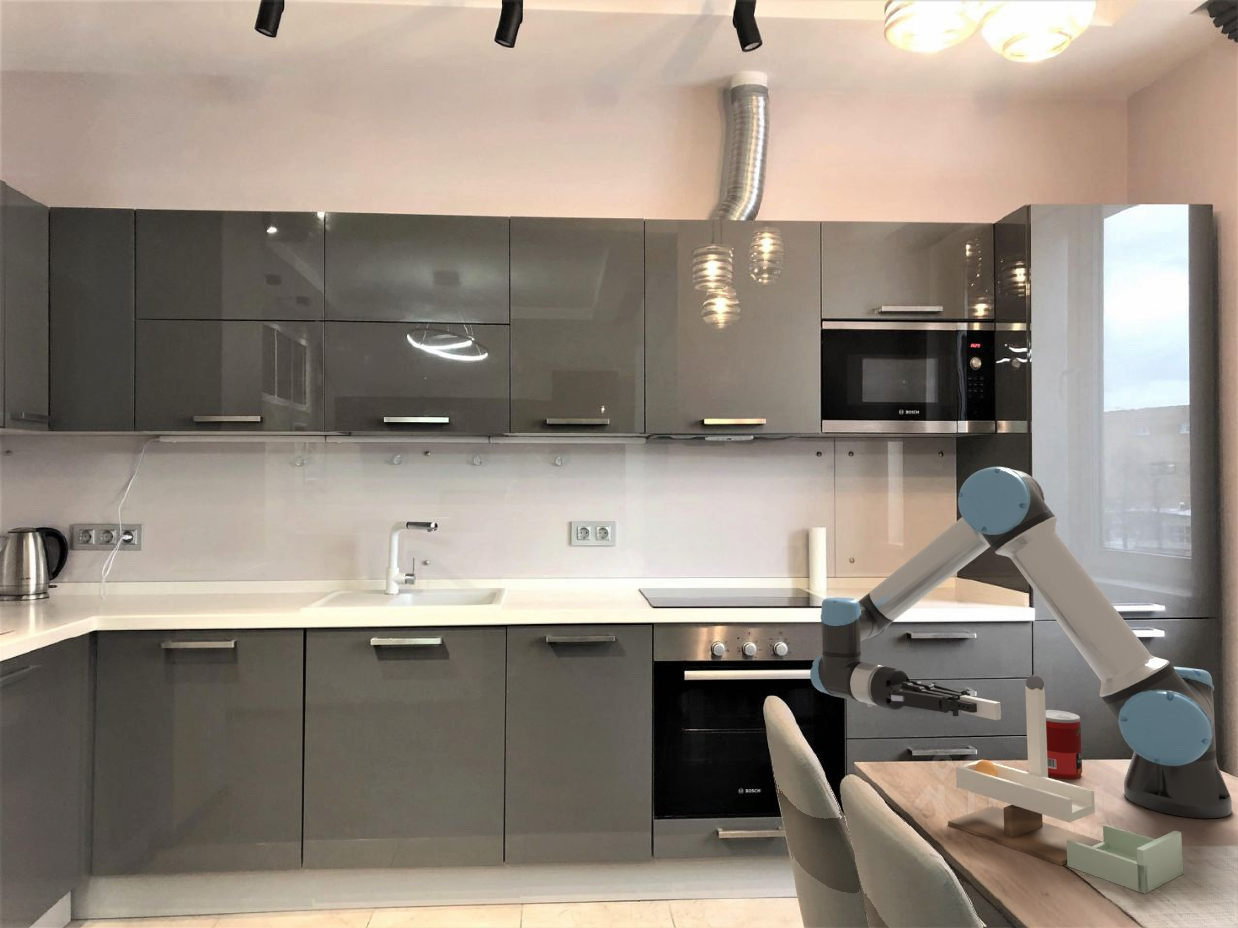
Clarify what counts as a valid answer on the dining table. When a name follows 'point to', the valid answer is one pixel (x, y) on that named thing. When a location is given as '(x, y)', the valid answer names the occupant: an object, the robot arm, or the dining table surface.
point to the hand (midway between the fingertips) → (998, 711)
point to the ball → (986, 767)
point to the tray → (1129, 858)
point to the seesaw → (1031, 772)
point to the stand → (1021, 832)
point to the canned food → (1063, 744)
